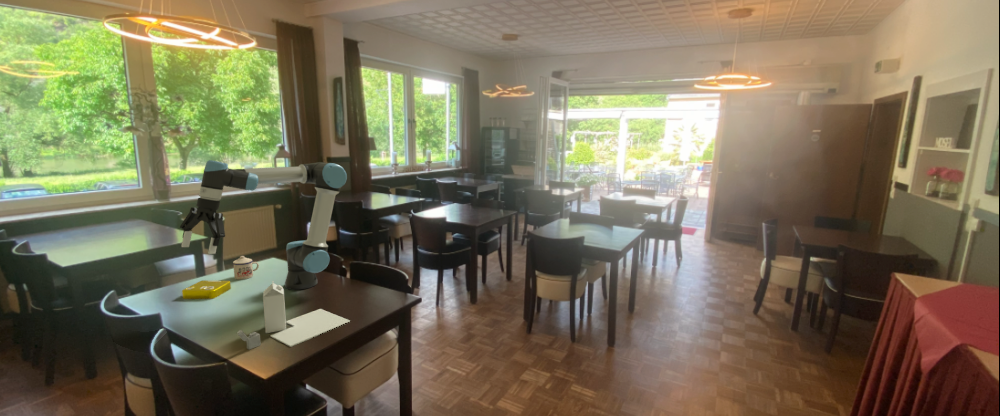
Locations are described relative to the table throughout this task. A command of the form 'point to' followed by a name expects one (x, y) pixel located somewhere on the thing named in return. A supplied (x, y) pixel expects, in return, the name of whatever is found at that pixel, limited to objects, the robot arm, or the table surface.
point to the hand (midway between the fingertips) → (198, 250)
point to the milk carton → (274, 308)
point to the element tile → (206, 289)
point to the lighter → (250, 339)
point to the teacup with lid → (243, 268)
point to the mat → (308, 327)
